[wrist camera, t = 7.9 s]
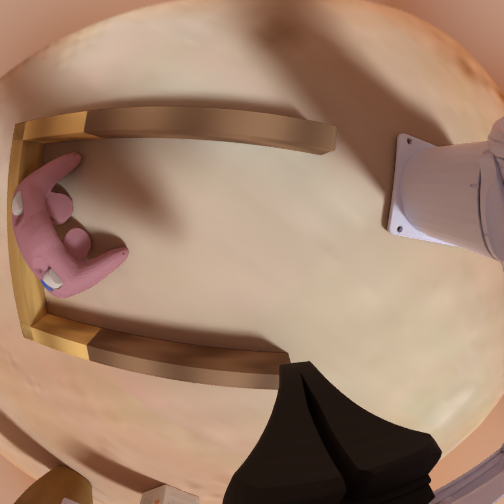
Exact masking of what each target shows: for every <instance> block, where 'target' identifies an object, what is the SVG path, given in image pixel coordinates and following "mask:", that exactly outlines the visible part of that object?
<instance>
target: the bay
mask: <svg viewBox="0 0 504 504" xmlns="http://www.w3.org/2000/svg"><path fill="white" fill-rule="evenodd" d="M336 133H337V126H333V125H329V124H324V123H319V122H315V121H310V120H304V119H299V118H293V117H288V116H281V115H275V114H268V113H260V112H252V111H243V110H233V109H221V108H206V107H178V106H154V107H127V108H112V109H101V110H92V111H83V112H76V113H69V114H62V115H56V116H51V117H46V118H41V119H36V120H31V121H27V122H23V123H18V124H15V129H14V135H13V141H12V148H11V155H10V164H9V175H8V191H7V233H8V249H9V260H10V269H11V277H12V284H13V290H14V296H15V301H16V306H17V311H18V316H19V320H20V324H21V328H22V332H23V336H24V337H25V338H27V339H30V340H32V341H35V342H37V343H40V344H42V345H45V346H48V347H50V348H53V349H56V350H59V351H62V352H65V353H68V354H71V355H74V356H77V357H80V358H83V359H87V360H90V361H93V362H97V363H100V364H104V365H108V366H112V367H116V368H120V369H124V370H128V371H132V372H137V373H142V374H146V375H151V376H156V377H162V378H167V379H173V380H179V381H186V382H193V383H200V384H208V385H217V386H227V387H238V388H252V389H273V390H278V389H279V366H280V365H281V364H289V363H291V362H290V358H289V355H288V353H274V352H258V351H245V350H234V349H224V348H215V347H206V346H198V345H191V344H184V343H177V342H171V341H164V340H159V339H153V338H147V337H142V336H137V335H132V334H127V333H122V332H117V331H113V330H108V329H104V328H99V327H95V326H91V325H87V324H83V323H79V322H76V321H72V320H68V319H65V318H61V317H58V316H54V315H51V314H48V312H47V307H46V301H45V294H44V287H43V284H42V283H41V281H40V280H39V279H38V278H37V277H36V276H35V275H34V273H33V272H32V271H31V269H30V268H29V266H28V265H27V263H26V262H25V260H24V258H23V256H22V254H21V252H20V250H19V248H18V245H17V242H16V239H15V235H14V232H13V226H12V211H11V202H12V198H13V195H14V192H15V190H16V188H17V186H18V185H19V184H20V183H21V182H22V181H23V180H24V179H25V178H26V177H27V176H29V175H30V174H31V173H33V172H34V171H36V170H38V169H39V168H41V167H42V159H43V151H44V144H45V143H52V142H62V141H72V140H85V139H103V138H181V139H199V140H213V141H225V142H235V143H245V144H253V145H261V146H269V147H276V148H283V149H289V150H295V151H301V152H307V153H312V154H318V155H323V154H325V153H328V152H330V151H333V150H335V144H336Z"/></svg>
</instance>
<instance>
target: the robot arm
mask: <svg viewBox="0 0 504 504" xmlns="http://www.w3.org/2000/svg"><path fill="white" fill-rule="evenodd" d="M407 139H408V140H409V142H410V143H409V144H408V142H407ZM399 226H400V230H399V231H397V228H398V227H399ZM387 230H388V232H389V233H390V234H393V235H398V236H403V237H409V238H415V239H420V240H425V241H431V242H436V243H441V244H446V245H451V246H456V247H461V248H465V249H467V250H470V251H473V252H476V253H478V254H481V255H484V256H487V257H489V258H492V259H494V260H497V261H499V262H500V263H501V264H502V266H503V270H504V117H502V118H500V119H499V120H498V121H496V122H495V123H494V125H493V127H492V130H491V133H490V134H489V136H488V141H485V142H475V143H466V144H457V145H449V146H442V147H438V146H435V145H433V144H430V143H428V142H426V141H423V140H420V139H418V138H415V137H413V136H410V135H407V134H405V133H402V134H399V135H398V137H397V151H396V164H395V174H394V184H393V192H392V200H391V207H390V214H389V220H388V226H387ZM441 454H442V451H441V449H440V448H439V446H438V444H437V443H436V441H435V440H434V439H433V437H432V436H431V435H430V434H428V433H423V432H419V431H415V430H411V429H407V428H404V427H401V426H398V425H396V424H393V423H391V422H388V421H386V420H384V419H382V418H380V417H377V416H375V415H373V414H372V413H370V412H368V411H366V410H365V409H363V408H362V407H360V406H358V405H357V404H355V403H354V402H353V401H351V400H350V399H349V398H347V397H346V396H345V395H344V394H342V393H341V392H340V391H339V390H338V389H337V388H336V387H335V386H333V385H332V384H331V383H330V382H329V381H328V380H327V379H326V378H325V377H324V376H323V375H322V374H321V373H320V372H319V371H318V369H317V368H316V367H315V366H314V365H313V364H312V363H311V362H310V361H307V362H298V363H289V364H281V365H280V366H279V389H278V394H277V398H276V401H275V405H274V408H273V411H272V414H271V416H270V419H269V421H268V423H267V426H266V428H265V430H264V432H263V434H262V436H261V437H260V439H259V441H258V443H257V444H256V446H255V447H254V449H253V450H252V452H251V453H250V455H249V456H248V458H247V459H246V460H245V462H244V463H243V464H242V465H241V466H240V468H239V469H238V470H237V471H236V472H235V473H234V475H233V477H232V479H231V481H230V483H229V485H228V488H227V490H226V492H225V495H224V498H223V503H222V504H495V503H496V502H497V501H498V500H499V499H501V498H502V497H503V496H504V444H503V445H502V447H501V448H500V449H499V450H497V451H496V452H495V453H494V454H492V455H491V456H490V457H488V458H487V459H486V460H484V461H483V462H481V463H480V464H478V465H477V466H476V467H474V468H472V469H471V470H469V471H468V472H466V473H465V474H463V475H462V476H460V477H458V478H457V479H455V480H453V481H452V482H450V483H448V484H446V485H445V486H443V487H441V488H439V489H437V490H435V491H434V492H433V491H432V489H431V488H430V486H429V483H430V482H431V479H430V477H429V475H428V474H429V472H430V471H431V470H432V469H433V467H434V466H435V465H436V464H437V462H438V461H439V459H440V457H441ZM61 504H79V503H77V502H74V501H72V500H70V499H67V498H63V501H62V503H61Z"/></svg>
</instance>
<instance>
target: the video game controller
mask: <svg viewBox="0 0 504 504" xmlns="http://www.w3.org/2000/svg"><path fill="white" fill-rule="evenodd" d="M80 162H81V155H80V154H79V153H67V154H64V155H62V156H60V157H58V158H56V159H54V160H52V161H50V162H49V163H47V164H45V165H44V166H42V167H41V168H39V169H38V170H36V171H34V172H33V173H31V174H30V175H29V176H27V177H26V178H25V179H24V180H23V181H22V182H21V183H20V184H19V185H18V186H17V188H16V190H15V192H14V195H13V198H12V202H11V211H12V226H13V232H14V235H15V239H16V242H17V245H18V248H19V250H20V252H21V254H22V256H23V258H24V260H25V262H26V263H27V265H28V266H29V268H30V269H31V271H32V272H33V273H34V275H35V276H36V277H37V278H38V279H39V280H40V281H41V283H42V284H43V286H44V287H45V288H46V289H47V290H48V291H49V292H50V293H51V294H52V295H54V296H56V297H58V298H67V297H70V296H73V295H75V294H78V293H80V292H83V291H85V290H87V289H89V288H91V287H92V286H94V285H95V284H97V283H99V282H100V281H101V280H102V279H104V278H105V277H106V276H108V275H109V274H110V273H111V272H112V271H114V270H115V269H116V268H117V267H119V266H120V265H121V264H122V263H123V262H124V261H125V260H126V258H127V256H128V254H129V250H128V248H125V247H120V248H116V249H112V250H110V251H107V252H105V253H103V254H101V255H99V256H97V257H95V258H93V259H89V260H86V261H85V257H86V255H87V253H88V251H89V250H90V247H91V240H90V237H89V236H88V234H87V233H86V232H85V231H84V230H82V229H80V228H74V229H71V230H70V231H69V232H68V233H67V234H66V236H65V237H64V238H63V240H62V242H61V240H60V238H59V236H58V234H57V232H56V230H55V228H54V226H53V225H59V224H63V223H64V222H66V220H67V219H68V218H69V217H70V216H71V214H72V212H73V204H72V201H71V199H70V198H69V197H68V196H67V195H65V194H61V193H54V192H51V190H52V188H53V187H54V186H55V184H56V183H57V182H59V181H60V180H61V179H62V178H64V177H65V176H66V175H68V174H69V173H70V172H71V171H72V170H73V169H75V168H76V166H77V165H78V164H79V163H80Z"/></svg>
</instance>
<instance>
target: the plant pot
mask: <svg viewBox="0 0 504 504" xmlns="http://www.w3.org/2000/svg"><path fill="white" fill-rule="evenodd" d="M63 498H67V499H70V500H72V501H74V502H77V503H79V504H93V499H92V485H91V484H90V482H89V481H88V480H86V479H85V478H84V477H83V476H81V475H80V474H78V473H77V472H75V471H73V470H71V469H70V468H67V467H65V466H62V465H59V466H57V467H55V468H54V469H52V470H51V471H49V472H48V473H46V474H45V475H43V476H42V477H41V478H39V479H38V480H37V481H36V482H35V483H34V484H32V485H31V486H30V487H29V488H28V489H27V490H26V491H25V492H24V493H23V494H22V495H21V496H20V497H19V498H18V500H17V501H16V502H15V503H14V504H61V503H62V501H63Z"/></svg>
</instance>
